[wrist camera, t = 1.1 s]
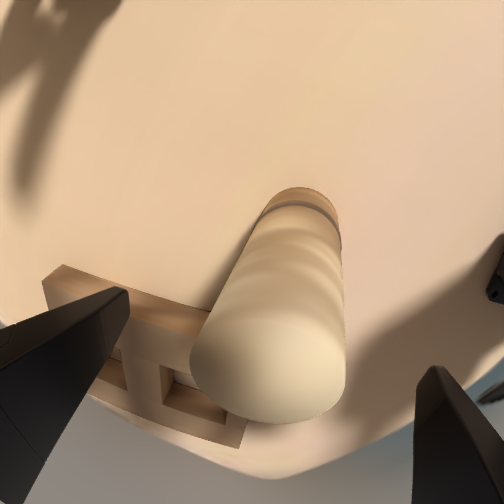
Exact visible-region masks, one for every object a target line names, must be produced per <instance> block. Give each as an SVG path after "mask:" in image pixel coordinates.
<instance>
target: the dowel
mask: <svg viewBox="0 0 504 504" xmlns="http://www.w3.org/2000/svg"><path fill="white" fill-rule="evenodd" d="M341 249H342V248H341V236H340V232H339V225H338V217H337V213H336V211H335V209H334V207H333V205H332V204H331V202H330V201H329V200H328V199H327V198H326V197H325V196H324V195H322V194H321V193H319V192H317V191H315V190H312V189H309V188H304V187H295V188H289V189H286V190H283V191H281V192H280V193H278V194H277V195H275V196H274V197H273V198H272V199H271V200H270V201H269V203H268V204H267V206H266V208H265V210H264V212H263V213H262V215H261V216H260V218H259V219H258V221H257V222H256V224H255V226H254V228H253V231H252V233H251V236H250V238H249V240H248V242H247V244H246V246H245V248H244V249H243V251H242V253H241V255H240V257H239V259H238V261H237V263H236V265H235V267H234V268H233V270H232V272H231V274H230V276H229V278H228V280H227V282H226V284H225V286H224V287H223V289H222V291H221V293H220V295H219V297H218V299H217V301H216V303H215V305H214V307H213V309H212V310H211V312H210V314H209V316H208V318H207V320H206V322H205V324H204V326H203V328H202V330H201V332H200V334H199V335H198V337H197V339H196V341H195V343H194V345H193V347H192V350H191V353H190V358H189V364H190V370H191V374H192V376H193V379H194V381H195V382H196V384H197V386H198V387H199V388H200V389H201V391H202V392H203V393H204V394H205V395H206V396H207V397H208V398H209V399H210V400H212V401H213V402H214V403H216V404H217V405H218V406H220V407H221V408H223V409H225V410H227V411H229V412H231V413H233V414H235V415H237V416H240V417H243V418H246V419H249V420H253V421H258V422H263V423H272V424H289V423H297V422H302V421H306V420H309V419H313V418H315V417H317V416H320V415H321V414H323V413H325V412H326V411H328V410H329V409H331V408H332V407H333V406H334V405H335V404H336V403H337V402H338V400H339V399H340V397H341V395H342V393H343V391H344V387H345V318H344V295H343V277H342V262H341Z"/></svg>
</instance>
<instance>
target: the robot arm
mask: <svg viewBox="0 0 504 504" xmlns="http://www.w3.org/2000/svg"><path fill="white" fill-rule="evenodd" d="M493 291H495V292H494V293H493V294H492V292H493ZM486 296H487V297H488V299H489V300H490V301H493V302H497V303H500V304H504V254H503V256H502V258H501V260H500V263H499V265H498V267H497V269H496V271H495V273H494V275H493V277H492V279H491V281H490V283H489V285H488V287H487V289H486ZM129 316H130V302H129V292H128V290H126V289H125V288H122V287H119V286H113V287H110V288H107V289H105V290H102V291H99V292H97V293H94V294H91V295H89V296H86V297H83V298H81V299H78V300H75V301H73V302H70V303H68V304H65V305H62V306H60V307H57V308H54V309H52V310H49V311H47V312H44V313H41V314H39V315H36V316H34V317H31V318H28V319H26V320H23V321H21V322H18V323H16V324H13V325H10V326H8V327H5V328H3V329H0V500H1V501H2V502H3V503H5V504H23V503H24V501H25V499H26V497H27V495H28V493H29V492H30V490H31V488H32V486H33V484H34V482H35V480H36V479H37V477H38V475H39V473H40V471H41V470H42V468H43V466H44V464H45V461H46V460H47V458H48V457H49V455H50V453H51V451H52V450H53V448H54V446H55V444H56V443H57V441H58V439H59V437H60V436H61V434H62V432H63V431H64V429H65V427H66V426H67V424H68V422H69V421H70V419H71V417H72V416H73V414H74V412H75V411H76V409H77V407H78V406H79V404H80V402H81V401H82V399H83V398H84V396H85V394H86V393H87V391H88V390H89V388H90V387H91V385H92V383H93V382H94V380H95V379H96V377H97V375H98V374H99V372H100V371H101V369H102V368H103V366H104V365H105V363H106V361H107V360H108V358H109V356H110V354H111V352H112V351H113V349H114V347H115V345H116V343H117V341H118V339H119V337H120V335H121V333H122V331H123V329H124V327H125V325H126V323H127V321H128V319H129ZM411 504H504V441H503V440H502V438H501V437H500V436H499V434H498V433H497V432H496V430H495V429H494V428H493V426H492V425H491V424H490V423H489V421H488V420H487V419H486V418H485V416H484V415H483V414H482V413H481V411H480V410H479V409H478V407H477V406H476V405H475V404H474V402H473V401H472V400H471V399H470V398H469V396H468V395H467V394H466V393H465V391H464V390H463V389H462V388H461V386H460V385H459V384H458V383H457V382H456V380H455V379H454V378H453V377H452V376H451V375H450V373H449V372H448V371H447V370H446V369H445V368H444V367H442V366H436V365H432V366H431V367H430V368H429V369H428V370H427V372H426V373H425V375H424V376H423V377H422V379H421V380H420V381H419V383H418V385H417V389H416V403H415V418H414V432H413V486H412V502H411Z"/></svg>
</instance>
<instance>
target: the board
mask: <svg viewBox="0 0 504 504" xmlns="http://www.w3.org/2000/svg"><path fill="white" fill-rule="evenodd" d="M42 285H43V289H44V294H45V298H46V301H47V305H48V309H49V310H52V309H54V308H57V307H60V306H62V305H65V304H68V303H70V302H73V301H75V300H78V299H81V298H83V297H86V296H89V295H91V294H94V293H97V292H99V291H102V290H105V289H107V288H110V287H113V286H119V287H122V288H125V289H126V290H128V292H129V302H130V316H129V319H128V321H127V323H126V325H125V327H124V329H123V331H122V333H121V335H120V337H119V339H118V341H117V343H116V345H115V348H118V349H120V353H121V359H122V362H119V361H117V360H115V359H112V358H110V357H109V358H108V360H107V361H106V363H105V365H104V366H103V368H102V369H101V371H100V372H99V374H98V375H97V377H96V379H95V380H94V382H93V383H92V385H91V387H90V388H89V390H88V391H87V393H89V394H91V395H93V396H95V397H97V398H100V399H102V400H104V401H106V402H108V403H110V404H112V405H115V406H117V407H119V408H121V409H124V410H126V411H128V412H131V413H133V414H135V415H138V416H140V417H143V418H145V419H148V420H150V421H153V422H156V423H158V424H161V425H163V426H166V427H169V428H172V429H175V430H177V431H180V432H183V433H186V434H189V435H192V436H195V437H198V438H202V439H205V440H208V441H212V442H215V443H218V444H222V445H225V446H229V447H233V448H237V449H239V447H240V444H241V440H242V437H243V434H244V431H245V428H246V424H247V421H248V419H246V418H243V417H240V416H237V415H235V414H233V413H231V412H229V411H227V410H225V409H223V408H221V407H220V406H218V405H217V404H216V403H214V402H213V401H212V400H210V399H209V398H208V397H207V396H206V395H205V394H204V393H203V392H202V391H200V390H196V389H193V388H190V387H187V386H184V385H181V384H178V383H175V382H174V370H177V371H180V372H183V373H186V374H189V375H192V374H191V370H190V364H189V358H190V353H191V350H192V347H193V345H194V343H195V341H196V339H197V337H198V335H199V334H200V332H201V330H202V328H203V326H204V324H205V322H206V320H207V318H208V316H209V314H210V312H207V311H204V310H200V309H197V308H193V307H190V306H186V305H183V304H180V303H176V302H173V301H170V300H166V299H163V298H160V297H157V296H153V295H150V294H147V293H144V292H141V291H138V290H135V289H132V288H129V287H125V286H122V285H119V284H116V283H114V282H111V281H108V280H105V279H102V278H99V277H96V276H93V275H90V274H88V273H85V272H82V271H79V270H76V269H74V268H71V267H68V266H65V265H63V264H62V265H61V266H60V267H58V268H57V269H56V270H55V271H53V272H52V273H51V274H50V275H49V276H47V277H46V278H45V279H44V280H42Z"/></svg>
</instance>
